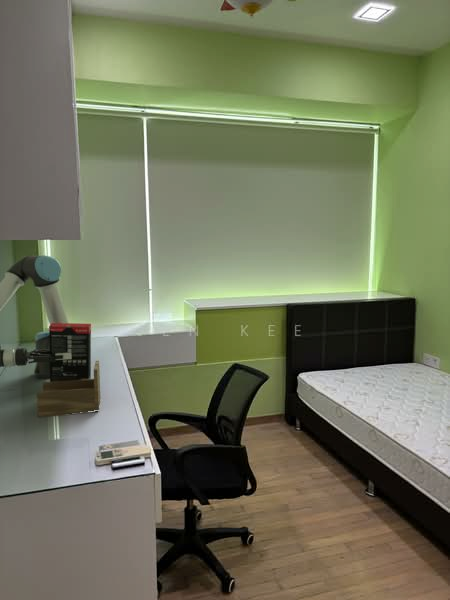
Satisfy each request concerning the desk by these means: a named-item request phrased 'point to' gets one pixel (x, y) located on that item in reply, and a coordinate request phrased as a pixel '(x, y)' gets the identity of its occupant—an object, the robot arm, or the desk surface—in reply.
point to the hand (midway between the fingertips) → (72, 353)
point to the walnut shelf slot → (70, 396)
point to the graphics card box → (70, 351)
